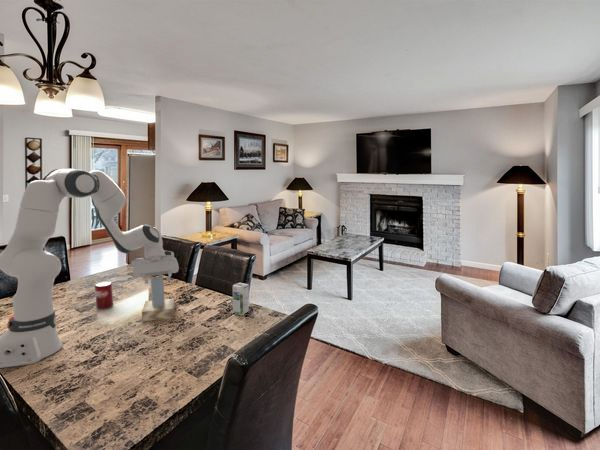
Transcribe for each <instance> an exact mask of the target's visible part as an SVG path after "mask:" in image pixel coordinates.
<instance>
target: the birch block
mask: <svg viewBox="0 0 600 450" xmlns="http://www.w3.org/2000/svg"><path fill="white" fill-rule="evenodd" d="M164 302H165V306H161V307H155V308H153V306H152V300H145V302H144V304H143V308H142V310H141V319H142V320H141V321H142V322H149V321H159V320H168V319H174V315H175V314H174V313H175V298H164Z"/></svg>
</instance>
